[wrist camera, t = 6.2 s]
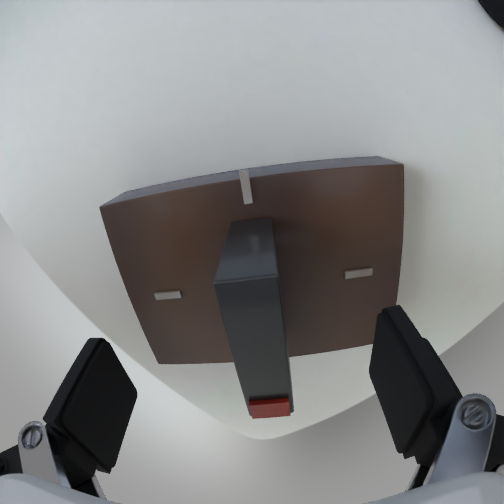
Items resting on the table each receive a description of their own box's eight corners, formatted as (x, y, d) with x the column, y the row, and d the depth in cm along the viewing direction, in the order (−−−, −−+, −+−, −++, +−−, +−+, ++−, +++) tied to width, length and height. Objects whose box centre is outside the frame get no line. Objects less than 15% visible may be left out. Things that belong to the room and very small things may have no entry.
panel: (171, 337, 19) (159, 370, 16) (123, 186, 15) (95, 200, 12) (375, 315, 18) (390, 346, 15) (378, 149, 13) (405, 156, 11)
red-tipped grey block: (229, 221, 12) (210, 286, 7) (272, 216, 12) (279, 278, 7) (252, 339, 15) (249, 421, 10) (286, 335, 15) (294, 417, 10)
